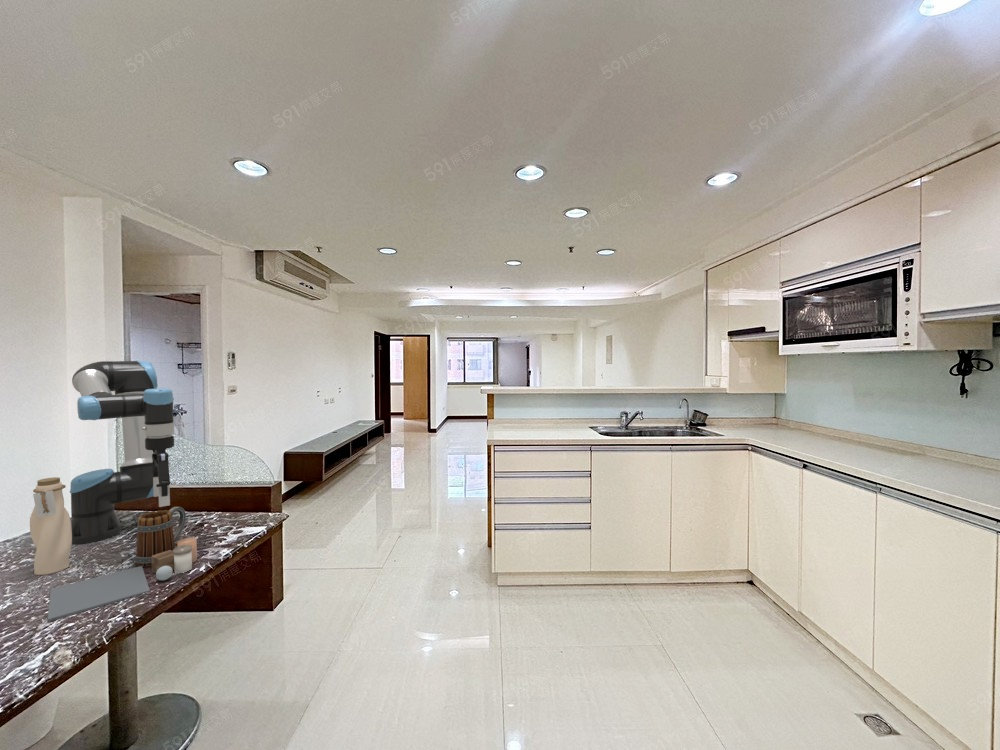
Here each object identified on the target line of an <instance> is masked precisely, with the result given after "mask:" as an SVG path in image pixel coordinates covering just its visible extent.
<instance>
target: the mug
mask: <svg viewBox="0 0 1000 750" xmlns="http://www.w3.org/2000/svg"><path fill="white" fill-rule="evenodd" d="M176 512H178V514H179V521H178V526H177V528H176V529H175V531H174V526H173V525H174V523H175V520H174V519H173V516H174V514H175V513H176ZM186 515H187V514H186V510H185V509H184V508H183V507H181V506H173V507H171V508H170V509H169V510H167V509H165V510H164V509H163V510H162V509H161V510H156V511H155V510H154V511H153V510H152V511H150V512H145V513H143V514H141V515H139V517H138V521H137V526H136V531H137V538H136V539H137V540H136V551H135V552H136V553H135V555H134V556H135V559H134V561H135V564H136V566H137V567H139V566H142V568H143V567H144V568H145V567H146V568H148V567H152V559H151V556H153V555H156V554H159V553H162V552H165V551H168V550H172V551H173V549H174V548H176V547H177V542H178V538H179V536H180V535H181V533H182V531H183V530H184V527H185V524H186V519H187V517H186Z"/></svg>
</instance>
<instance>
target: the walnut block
mask: <svg viewBox="0 0 1000 750" xmlns="http://www.w3.org/2000/svg"><path fill="white" fill-rule="evenodd" d="M151 559H152V566H151V572H152V573H153V572H154V574H155V573H156V572H157V570H158V569H159V568H160V567H162V566H170V567H171V568H172V570H174V554H173V551H172V550H168V551H165V552H162V553H159V554H156V555H153V556H151Z"/></svg>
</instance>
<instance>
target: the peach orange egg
mask: <svg viewBox="0 0 1000 750" xmlns="http://www.w3.org/2000/svg"><path fill="white" fill-rule="evenodd" d="M176 542H177V547H179V546H183V545H191V546H192V562H195V561H196V560H197V561H198V550H197V549H198V547H197V545H198V543H197V537H193V536H192V537H185V538H182V539H179V540H177V541H176ZM197 561H196V562H197ZM196 562H195V563H196Z"/></svg>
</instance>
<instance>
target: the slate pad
mask: <svg viewBox="0 0 1000 750" xmlns="http://www.w3.org/2000/svg"><path fill="white" fill-rule="evenodd" d="M49 591H50V592H49V601H48V603H49V604H48V610H47V611H48V612H47V622H48V623H49V622H52V621H54V620H58V619H63V618H65V617H70V616H73V615H76V614H80V613H83V612H86V611H90V610H93V609H97V608H100V607H104V605H105V606H107V604H108V605H111V604H114V602H115V603H118V602H121V600H122V601H124V600H123V599H125V600H127V598H129V599H131V598H130V597H132V596H135V595H139V594H143V593H146V592H150V593H151V590H150V587H149V584H148V581H147V578H146V574H145V571H144V568H143V567H142V566H136V567H131V568H127V569H124V570H123V569H122V570H119V571H116V572H112V573H108V574H104V575H100V576H96V577H92V578H88V579H85V580H80V581H76V582H73V583H69V584H65V585H64V584H63V585H61V586H57V587H52V588H50V590H49ZM146 594H147V593H146ZM143 595H144V594H143ZM139 596H140V595H139ZM132 598H133V597H132ZM117 601H118V602H117Z"/></svg>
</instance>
